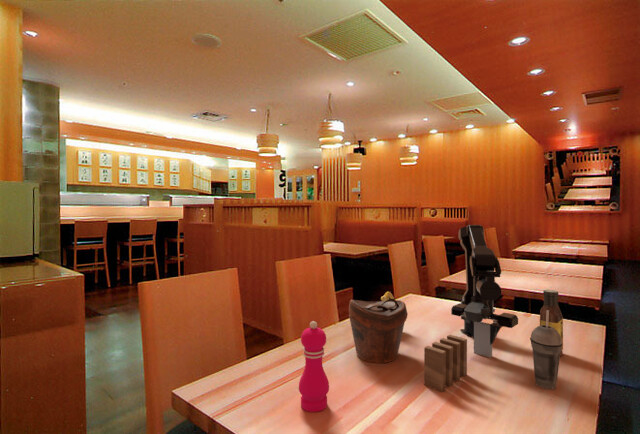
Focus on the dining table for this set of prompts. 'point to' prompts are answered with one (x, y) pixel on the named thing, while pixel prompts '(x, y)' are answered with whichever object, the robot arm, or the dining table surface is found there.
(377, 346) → the brown wooden tapered container
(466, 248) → the robot arm
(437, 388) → the domino
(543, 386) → the beverage cup
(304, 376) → the pepper mill
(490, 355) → the domino
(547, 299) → the sauce bottle
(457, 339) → the domino
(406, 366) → the dining table surface
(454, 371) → the domino
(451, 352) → the domino
